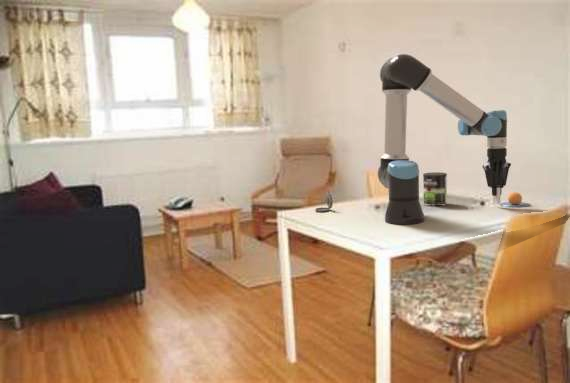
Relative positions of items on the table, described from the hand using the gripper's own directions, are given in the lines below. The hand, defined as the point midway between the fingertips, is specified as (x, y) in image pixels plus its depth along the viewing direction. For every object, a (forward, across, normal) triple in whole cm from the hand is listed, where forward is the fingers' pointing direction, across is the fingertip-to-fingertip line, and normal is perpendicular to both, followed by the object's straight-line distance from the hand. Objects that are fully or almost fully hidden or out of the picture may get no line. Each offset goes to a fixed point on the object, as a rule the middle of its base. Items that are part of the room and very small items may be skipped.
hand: (496, 203), depth 208 cm
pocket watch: (+2, -64, +37) cm, 74 cm away
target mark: (+2, +10, 0) cm, 10 cm away
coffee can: (+2, -16, +21) cm, 27 cm away
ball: (-1, +10, 0) cm, 10 cm away
